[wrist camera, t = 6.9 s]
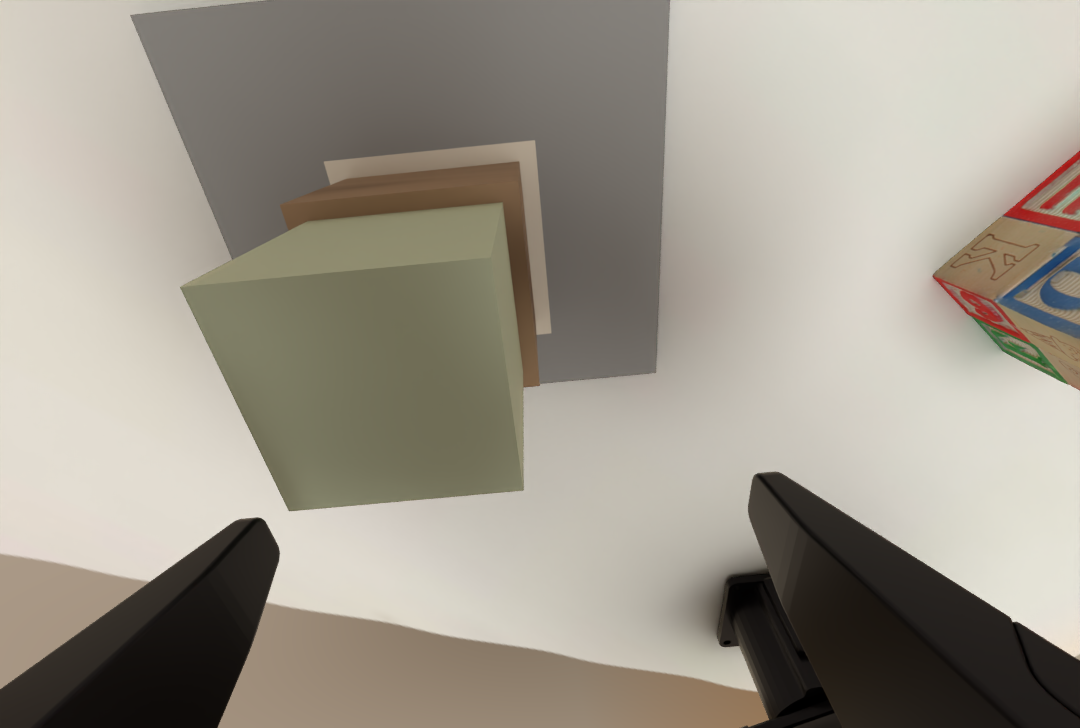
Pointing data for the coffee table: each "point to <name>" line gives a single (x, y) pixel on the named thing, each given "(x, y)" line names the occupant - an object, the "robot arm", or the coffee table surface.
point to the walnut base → (432, 194)
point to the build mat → (446, 132)
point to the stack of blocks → (1028, 277)
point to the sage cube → (374, 355)
